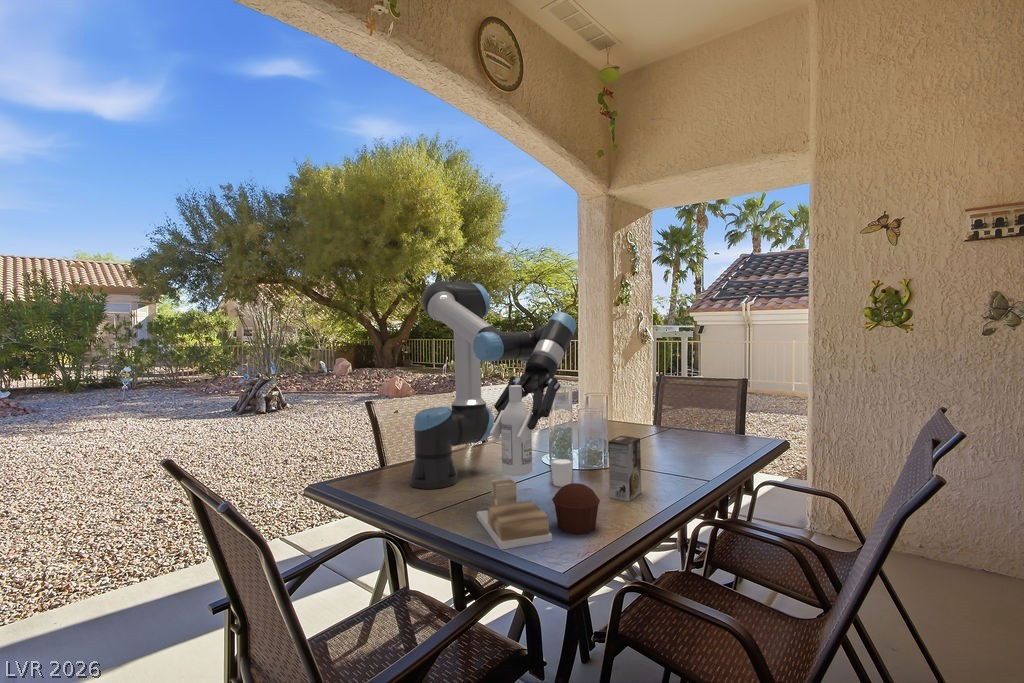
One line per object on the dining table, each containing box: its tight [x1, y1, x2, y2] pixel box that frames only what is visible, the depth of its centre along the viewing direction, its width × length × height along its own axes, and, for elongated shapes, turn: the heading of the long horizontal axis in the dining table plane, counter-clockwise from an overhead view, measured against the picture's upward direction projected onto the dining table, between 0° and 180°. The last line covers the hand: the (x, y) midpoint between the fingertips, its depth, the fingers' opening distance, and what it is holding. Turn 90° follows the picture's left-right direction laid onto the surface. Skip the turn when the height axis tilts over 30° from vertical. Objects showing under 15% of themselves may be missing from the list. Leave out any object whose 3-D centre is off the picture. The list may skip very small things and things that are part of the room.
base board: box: [476, 509, 553, 550], centre depth 115 cm, size 20×12×2 cm, turn 19°
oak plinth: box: [487, 500, 550, 541], centre depth 111 cm, size 11×11×4 cm
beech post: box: [490, 477, 518, 506], centre depth 121 cm, size 5×5×8 cm
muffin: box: [551, 482, 601, 536], centre depth 115 cm, size 12×11×10 cm
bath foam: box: [500, 385, 533, 477], centre depth 111 cm, size 7×7×20 cm
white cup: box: [550, 458, 574, 488], centre depth 150 cm, size 7×7×7 cm
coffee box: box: [607, 435, 642, 502], centre depth 138 cm, size 9×6×16 cm
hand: (507, 438), depth 108 cm, fingers closed on bath foam, 7 cm apart
